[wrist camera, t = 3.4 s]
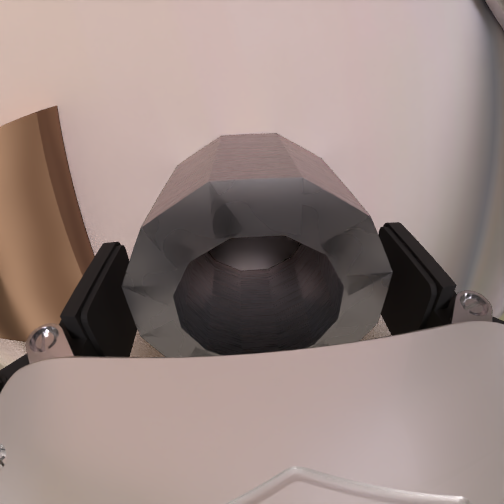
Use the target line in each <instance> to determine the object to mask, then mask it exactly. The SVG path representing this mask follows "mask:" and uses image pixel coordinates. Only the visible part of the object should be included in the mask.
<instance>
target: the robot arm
mask: <svg viewBox="0 0 504 504" xmlns="http://www.w3.org/2000/svg"><path fill="white" fill-rule="evenodd" d="M485 1H486V3H487V4H488V6H489V8H490V10H491V11H492V13H493V15H494V16H495V18H496V19H497V21H498V22H499V24H500V25H501V27H502V28H503V30H504V0H485ZM379 238H380V240H381V243H382V245H383V248H384V251H385V253H386V256H387V258H388V261H389V264H390V266H391V269H392V272H393V273H392V276H391V280H390V284H389V287H388V291H387V294H386V298H385V301H384V304H383V308H382V311H381V315H382V317H383V319H384V321H385V323H386V325H387V327H388V329H389V331H390V333H391V335H392V336H386V337H381V338H375V339H369V340H363V341H356V342H350V343H343V344H336V345H328V346H320V347H312V348H304V349H295V350H285V351H275V352H263V353H251V354H236V355H219V356H196V357H130V353H131V349H132V346H133V342H134V339H135V335H136V332H137V326H136V324H135V321H134V319H133V316H132V314H131V311H130V308H129V306H128V303H127V300H126V298H125V295H124V292H123V289H122V284H123V281H124V277H125V274H126V271H127V268H128V264H129V259H128V255H127V252H126V249H125V247H124V246H123V245H120V243H119V242H111V243H104V244H103V245H102V246H101V248H100V249H99V251H98V252H97V254H96V255H95V257H94V259H93V260H92V262H91V263H90V265H89V266H88V268H87V270H86V271H85V273H84V275H83V276H82V278H81V280H80V281H79V283H78V285H77V286H76V288H75V290H74V291H73V293H72V295H71V297H70V298H69V300H68V302H67V304H66V306H65V307H64V309H63V311H62V313H61V315H60V318H61V321H60V323H59V325H58V324H55V323H47V324H44V325H41V326H39V327H38V328H36V329H35V330H34V331H33V332H32V333H31V334H30V335H29V337H28V338H27V341H26V351H27V354H26V355H24V356H22V357H21V358H19V359H17V360H16V361H14V362H13V363H11V364H9V365H8V366H6V367H5V368H3V369H2V370H0V504H504V321H502V320H499V319H497V318H495V317H492V306H491V304H490V302H489V301H488V300H487V299H486V298H485V297H484V296H482V295H481V294H479V293H477V292H474V291H470V290H464V291H461V292H459V293H458V294H456V293H455V291H454V290H455V288H456V284H455V283H454V282H453V280H452V279H451V278H450V277H449V276H448V274H447V273H446V272H445V271H444V270H443V269H442V267H441V266H440V265H439V264H438V263H437V262H436V261H435V260H434V258H433V257H432V256H431V255H430V254H429V253H428V252H427V251H426V250H425V248H424V247H423V246H422V245H421V244H420V243H419V242H418V241H417V240H416V239H415V238H414V237H413V236H412V234H411V233H410V232H409V231H408V230H407V229H406V228H405V227H404V226H403V225H402V224H401V223H399V222H397V223H385V224H384V226H383V227H381V228H380V230H379Z"/></svg>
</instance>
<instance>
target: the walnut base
mask: <svg viewBox="0 0 504 504" xmlns="http://www.w3.org/2000/svg"><path fill="white" fill-rule="evenodd" d="M93 259H94V254H93V251H92V248H91V245H90V242H89V239H88V236H87V233H86V230H85V227H84V223H83V220H82V217H81V213H80V210H79V206H78V203H77V199H76V195H75V192H74V188H73V184H72V180H71V176H70V172H69V167H68V163H67V159H66V154H65V149H64V144H63V139H62V134H61V128H60V123H59V117H58V110H57V106H54V107H51V108H47V109H44V110H41V111H38V112H35V113H32V114H30V115H27V116H25V117H22V118H20V119H17V120H15V121H12V122H10V123H8V124H5V125H3V126H1V127H0V338H3V339H9V340H16V341H24V342H26V341H27V338H28V337H29V335H30V334H31V333H32V332H33V331H34V330H35V329H36V328H38V327H39V326H41V325H44V324H47V323H55V324H58V325H59V323H60V321H61V318H60V315H61V313H62V311H63V309H64V307H65V306H66V304H67V302H68V300H69V298H70V297H71V295H72V293H73V291H74V290H75V288H76V286H77V285H78V283H79V281H80V280H81V278H82V276H83V275H84V273H85V271H86V270H87V268H88V266H89V265H90V263H91V262H92V260H93Z"/></svg>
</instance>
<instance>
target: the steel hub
mask: <svg viewBox="0 0 504 504" xmlns="http://www.w3.org/2000/svg"><path fill="white" fill-rule="evenodd" d="M280 235H285V236H287V237H289V238H291V239H293V240H295V241H298V242H300V243H302V244H301V245H300V246H299V248H298V249H297V251H296V252H295V254H294V255H293V257H291V258H289V259H287V260H285V261H283V262H281V263H280V264H278V265H276V266H274V267H272V268H270V269H268V270H249V271H239V270H237V269H235V268H232V267H230V266H227V265H225V264H222V263H220V262H217V261H215V260H214V259H213V257H212V256H211V255H210V254H209V253H208V251H209V250H211V249H213V248H214V247H216V246H218V245H220V244H221V243H223V242H225V241H226V240H228V239H230V238H240V237H259V236H280ZM392 273H393V272H392V269H391V266H390V264H389V261H388V258H387V256H386V253H385V251H384V248H383V245H382V243H381V240H380V238H379V235H378V233H377V231H376V228H375V226H374V223H373V221H372V219H371V216H370V215H369V214H368V213H367V211H366V210H365V209H364V208H363V206H362V205H361V204H360V203H359V201H358V200H357V199H356V198H355V197H354V195H353V194H352V193H351V192H350V191H349V189H348V188H347V187H346V186H345V185H344V184H343V182H342V181H341V180H340V179H339V178H338V177H337V175H336V174H335V173H334V172H333V171H332V170H331V169H330V167H329V166H328V165H327V164H326V163H325V162H324V161H323V160H322V159H321V158H320V157H318V156H316V155H314V154H313V153H311V152H309V151H307V150H306V149H304V148H302V147H300V146H299V145H297V144H295V143H293V142H291V141H289V140H288V139H286V138H284V137H282V136H280V135H278V134H277V133H274V134H245V135H228V136H220V137H219V138H217V139H216V140H214V141H213V142H211V143H210V144H208V145H207V146H205V147H204V148H202V149H201V150H199V151H198V152H196V153H195V154H193V155H192V156H190V157H189V158H187V159H186V160H185V161H183V162H182V163H180V164H179V165H178V166H177V167H176V169H175V170H174V172H173V174H172V175H171V177H170V178H169V180H168V182H167V183H166V185H165V187H164V188H163V190H162V192H161V193H160V195H159V197H158V198H157V200H156V202H155V204H154V205H153V207H152V209H151V210H150V212H149V214H148V216H147V217H146V219H145V221H144V223H143V225H142V226H141V229H140V232H139V234H138V237H137V240H136V243H135V246H134V249H133V252H132V255H131V258H130V261H129V264H128V268H127V271H126V274H125V277H124V281H123V284H122V289H123V292H124V295H125V298H126V300H127V303H128V306H129V308H130V311H131V314H132V316H133V319H134V321H135V324H136V326H137V329H138V331H139V334H140V336H141V337H142V338H143V339H144V340H146V341H147V342H148V343H149V344H150V345H152V346H153V347H154V348H155V349H156V350H158V351H159V352H160V353H161V354H163V355H164V356H165V357H196V356H219V355H236V354H251V353H263V352H275V351H285V350H295V349H304V348H312V347H320V346H328V345H336V344H343V343H350V342H356V341H360V340H361V339H362V338H363V337H364V336H365V335H366V334H367V333H368V332H369V331H370V330H371V329H372V328H373V327H374V326H375V325H376V324H377V323H378V320H379V317H380V314H381V311H382V308H383V304H384V301H385V298H386V294H387V291H388V287H389V284H390V280H391V276H392Z"/></svg>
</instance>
